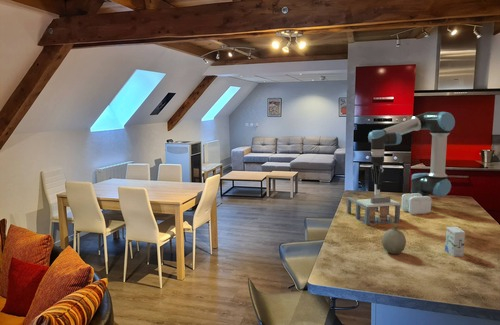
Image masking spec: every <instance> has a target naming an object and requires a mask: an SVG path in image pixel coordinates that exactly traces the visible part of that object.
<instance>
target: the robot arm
mask: <svg viewBox="0 0 500 325" xmlns="http://www.w3.org/2000/svg"><path fill="white" fill-rule="evenodd" d="M455 124H456V120H455V118H454V115H453V114H452V113H451V112H447V111H426V112H424V113H419V114H418V115H415V116H412V117H411V118H410V119H408V120H405V121H403V122H402V121H401V122H400V123H399V122H398V123H397V124H394V125H391V126H388V127H386V128H383V129H375V130H374V129H373V130H372V131H370V132H369V133H368V136H367V138H368V139H367V140H368V142H370V145H371V146H370V155H371V157H370V162H371V163H372V165H370V170H371V171H370V172H371V180H372V182H373V184H374V196H379V195H380V194H381V185H382V184H383V182H384V181H383V180H384V174H385V171H386V170H385V168H383V163H385V147H386V146H397V145H400V144H401V142H403V141H402V140H403V139H402V138H403V137H402V136H403V135H406V134H408V133H411V132H413V131H415V132H416V131H421V130H429V134H430V135H431V153H430V154H431V155H430V172H429V173H428V172H418V173H413V174H412V175H411V179H410V180H411V181H410V194H412V193H420V194H422V196H429V197H430V195H431V196H435V197H440V198H441V197H445V196H447V195H448V194H449V193H450V192H451V188H452V184H451V183H452V182H451V181H450V180H449V179H448V174H446V160H447V159H446V158H447V144H448V142H447V141H448V136H449V135H450V133H451V131H452V130H453V129H454V127H455ZM380 196H381V195H380ZM432 206H433V205H432V202H431V208H432Z"/></svg>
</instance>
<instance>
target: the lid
mask: <svg viewBox="0 0 500 325" xmlns="http://www.w3.org/2000/svg"><path fill="white" fill-rule="evenodd" d="M356 200H357V202H358V203H360V204H362V205H364V206H366V207H378V208H380V206H389V207H391V206H392V207H395V206H394V205H400V206H401V203H400V202H398V201H396V200H394V199H392V198H391V197H390V196H383V197H382V196H380V197H378V198H374V197H370V198H364V199H362V198H361V199H356Z"/></svg>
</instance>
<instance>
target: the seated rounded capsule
mask: <svg viewBox="0 0 500 325" xmlns="http://www.w3.org/2000/svg"><path fill="white" fill-rule="evenodd" d="M375 216H376V212H375V207H370V222H375Z"/></svg>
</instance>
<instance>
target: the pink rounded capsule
mask: <svg viewBox="0 0 500 325" xmlns="http://www.w3.org/2000/svg"><path fill="white" fill-rule="evenodd" d="M387 212H388V206H379V209H378V214H379V217H381V221H387Z"/></svg>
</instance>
